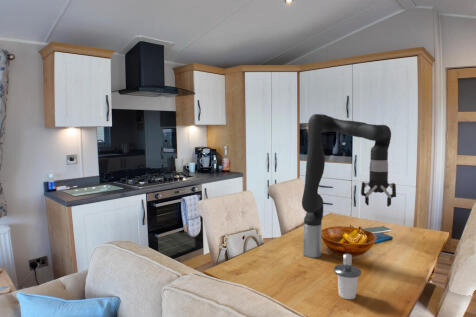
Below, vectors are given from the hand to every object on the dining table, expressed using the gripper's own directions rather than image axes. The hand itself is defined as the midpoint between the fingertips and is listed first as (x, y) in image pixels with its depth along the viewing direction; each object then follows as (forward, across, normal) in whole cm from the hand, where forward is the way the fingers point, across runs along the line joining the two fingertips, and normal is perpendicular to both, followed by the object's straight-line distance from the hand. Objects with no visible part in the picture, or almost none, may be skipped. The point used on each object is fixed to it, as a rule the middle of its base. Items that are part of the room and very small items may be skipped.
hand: (377, 205), depth 144 cm
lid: (+23, -13, -21) cm, 34 cm away
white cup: (+33, -13, -21) cm, 41 cm away
